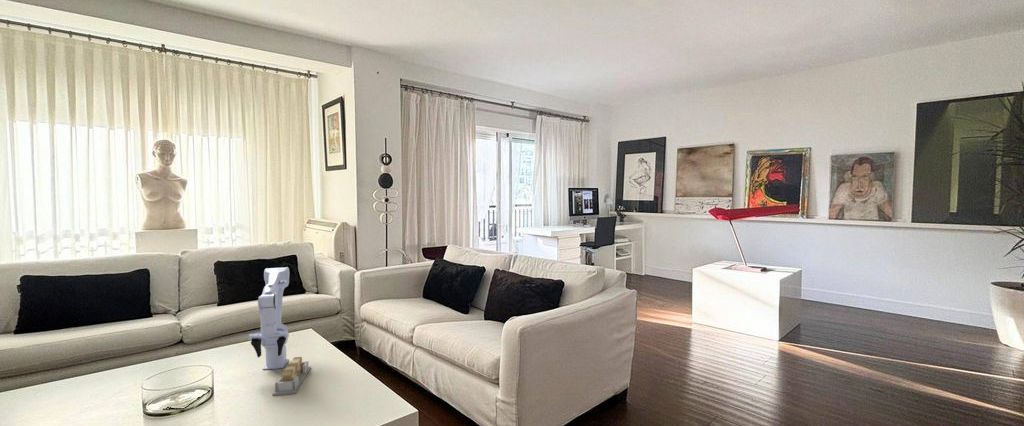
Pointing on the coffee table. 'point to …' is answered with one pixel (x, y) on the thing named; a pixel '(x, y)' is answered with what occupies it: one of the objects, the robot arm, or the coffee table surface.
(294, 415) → the coffee table surface
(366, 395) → the coffee table surface
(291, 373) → the oak slat
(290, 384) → the end cap cradle
